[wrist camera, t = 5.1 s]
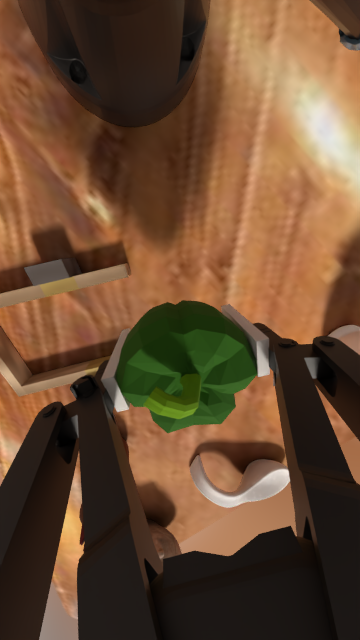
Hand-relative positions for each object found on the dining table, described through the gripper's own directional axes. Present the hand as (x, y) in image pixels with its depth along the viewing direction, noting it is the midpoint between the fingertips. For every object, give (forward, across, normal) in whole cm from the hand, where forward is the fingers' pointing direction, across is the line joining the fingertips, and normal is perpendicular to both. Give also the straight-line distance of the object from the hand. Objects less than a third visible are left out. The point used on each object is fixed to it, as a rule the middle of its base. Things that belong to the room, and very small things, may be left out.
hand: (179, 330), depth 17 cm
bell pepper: (+1, 0, 0) cm, 1 cm away
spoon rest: (+9, +6, -43) cm, 44 cm away
